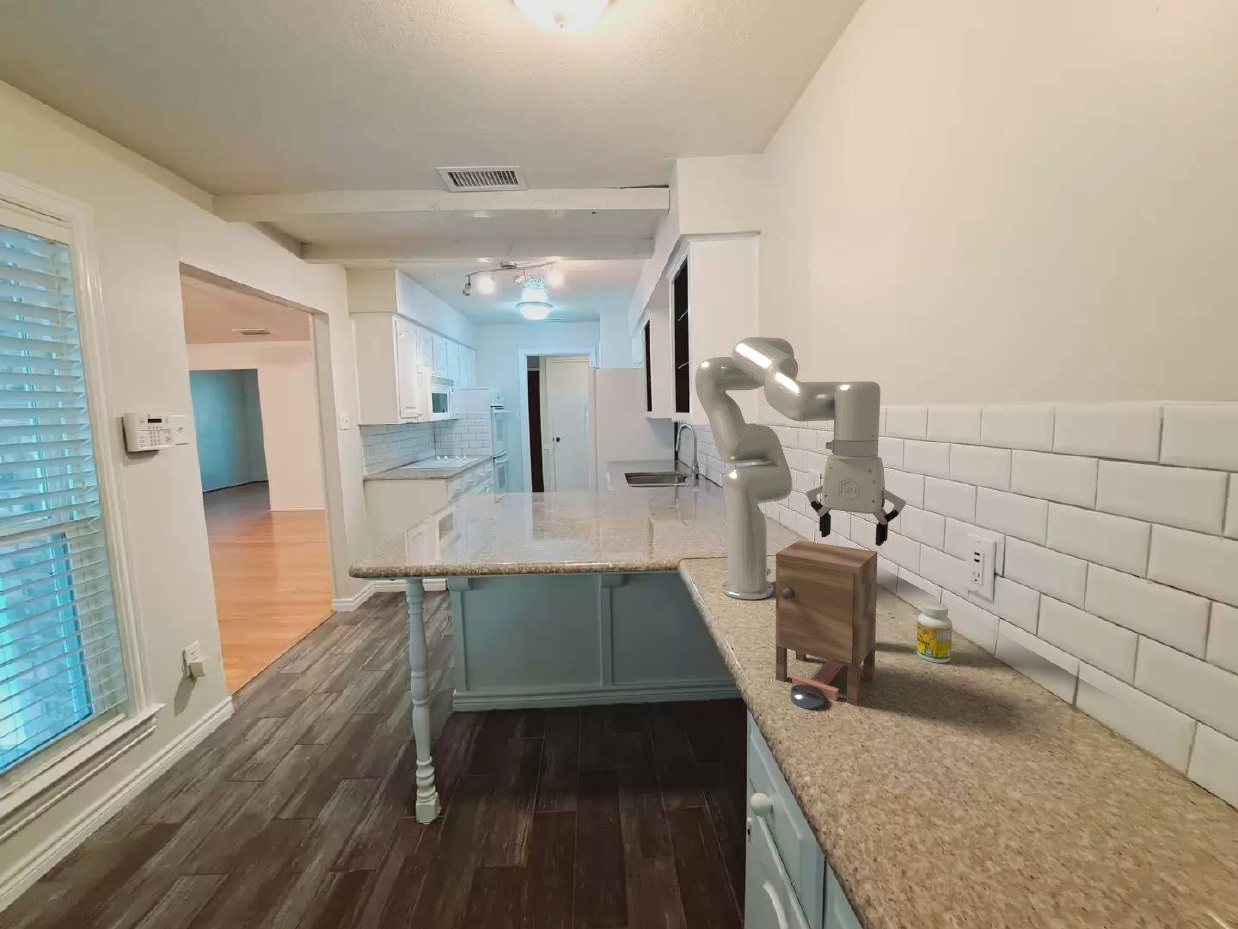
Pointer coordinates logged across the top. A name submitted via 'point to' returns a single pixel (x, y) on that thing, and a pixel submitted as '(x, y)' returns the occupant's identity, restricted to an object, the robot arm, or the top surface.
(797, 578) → the walnut cabinet
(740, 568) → the robot arm
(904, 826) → the top surface
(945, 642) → the supplement bottle
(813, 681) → the rake
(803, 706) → the steel token
